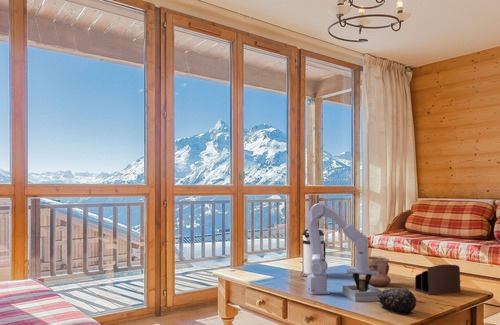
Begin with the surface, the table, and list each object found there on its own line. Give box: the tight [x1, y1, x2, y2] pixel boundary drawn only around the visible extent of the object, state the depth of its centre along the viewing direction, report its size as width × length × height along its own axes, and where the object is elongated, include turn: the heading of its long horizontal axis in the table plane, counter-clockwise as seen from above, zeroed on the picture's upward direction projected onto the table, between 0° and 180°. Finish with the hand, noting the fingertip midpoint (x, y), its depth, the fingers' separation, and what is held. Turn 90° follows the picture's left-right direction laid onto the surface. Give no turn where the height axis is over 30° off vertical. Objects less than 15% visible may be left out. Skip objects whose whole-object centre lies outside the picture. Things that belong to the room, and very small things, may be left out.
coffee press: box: [300, 228, 326, 277], centre depth 248 cm, size 17×16×30 cm
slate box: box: [342, 284, 383, 303], centre depth 200 cm, size 14×14×4 cm
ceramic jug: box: [361, 255, 392, 287], centre depth 226 cm, size 18×14×14 cm
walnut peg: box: [359, 278, 366, 292], centre depth 199 cm, size 3×3×7 cm
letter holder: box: [414, 264, 462, 296], centre depth 212 cm, size 10×20×14 cm, turn 110°
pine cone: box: [378, 287, 417, 316], centre depth 178 cm, size 10×18×10 cm, turn 37°
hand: (362, 290), depth 200 cm, fingers closed on walnut peg, 3 cm apart
